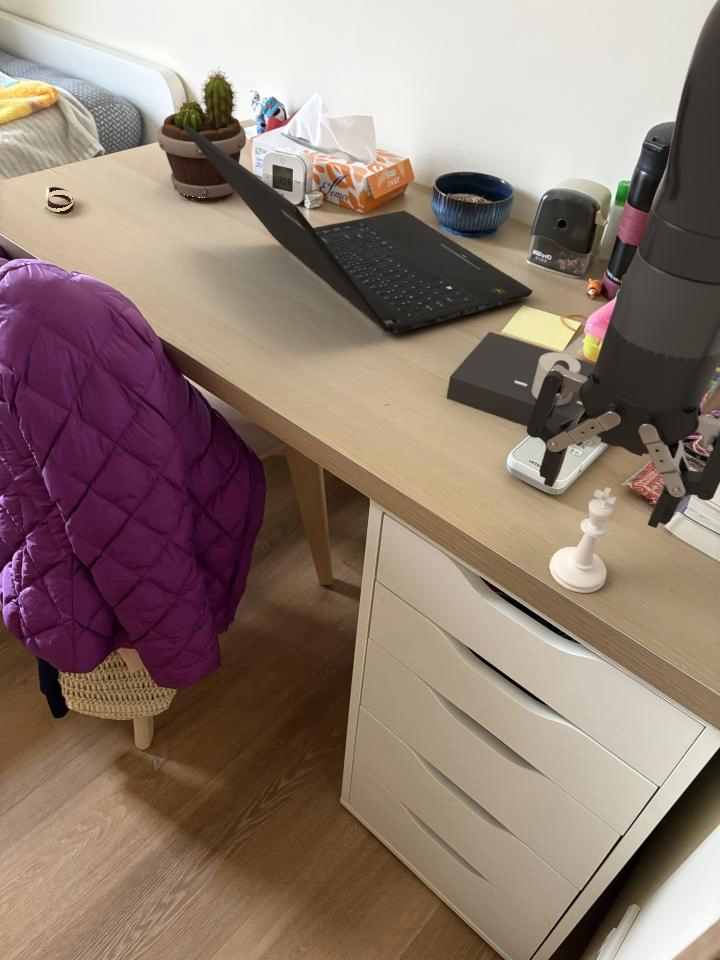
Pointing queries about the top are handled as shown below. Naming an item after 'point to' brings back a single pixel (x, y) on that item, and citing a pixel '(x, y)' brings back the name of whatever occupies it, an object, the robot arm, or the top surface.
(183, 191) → the flowerpot
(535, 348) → the dark grey flat block
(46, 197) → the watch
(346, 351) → the top surface
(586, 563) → the chess piece
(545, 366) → the knob
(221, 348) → the top surface
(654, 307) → the robot arm
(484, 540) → the top surface
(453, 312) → the laptop
